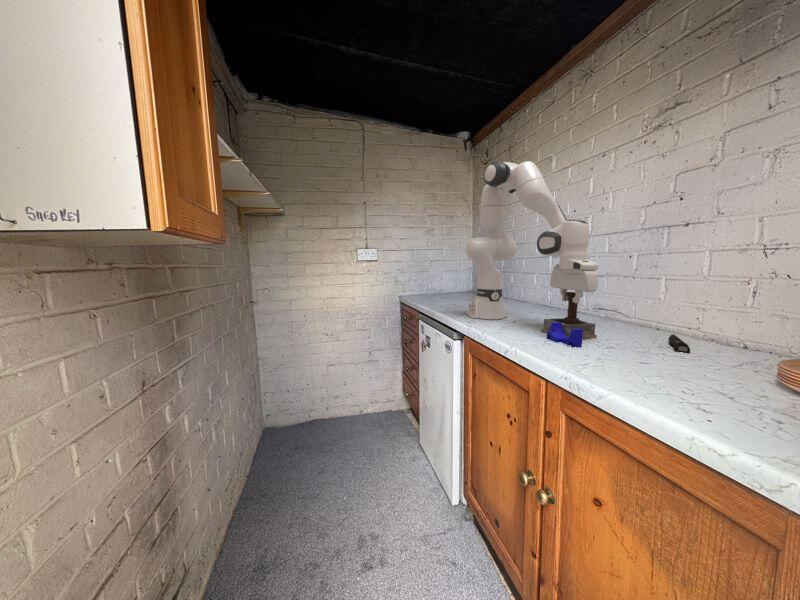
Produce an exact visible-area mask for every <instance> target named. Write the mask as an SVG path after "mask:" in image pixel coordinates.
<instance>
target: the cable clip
mask: <svg viewBox="0 0 800 600" xmlns="http://www.w3.org/2000/svg"><path fill="white" fill-rule="evenodd" d="M582 336H583V329H571V333H570V335H569V337H568V338H567V337H566V336H565V334H564V333H563V330H562V323H560V322H551V331H547V334H546V339H547V340H549V339H550V341H551V340H552V341H551V342H554V343H556V342H557V344H559V343H558V342H562V343H561V344H563V343H564V345H566V344H567V345H566V346H568V345H571V346H572V347H571V348H573V347H576V348H582V346H583V339H582Z"/></svg>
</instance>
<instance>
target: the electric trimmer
mask: <svg viewBox="0 0 800 600" xmlns="http://www.w3.org/2000/svg"><path fill="white" fill-rule="evenodd" d="M668 344H669V346H672V345H673V350H674V352H677V353H680V352H683V353H682V354H690V353H691V348H690V346H689V345H688V344H687V343H686V342H684V341H683V340H682V339H681V338H680V337H678V336H677V335H676V334H674V333H673V334H670V336H669V337H668Z"/></svg>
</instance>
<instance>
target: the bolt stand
mask: <svg viewBox="0 0 800 600" xmlns="http://www.w3.org/2000/svg"><path fill="white" fill-rule="evenodd" d="M564 318H565V317H563V318H561V317H560V318H544V319H543V328H541V333H543V334H546V333H547V331H551V322H560V323H562V330H563V333H564V334H565V336H566V337H567V338H568V337H569V335H570V333H571V329H583V336H582V340H592V339H591V338H596V339H597V336H598V335H597V334H595V332H596V324H595V323H594V322H593V323H592V322H588V321H586V320H581V319H579V323H578V324H567V323H566V322H565V321H564Z"/></svg>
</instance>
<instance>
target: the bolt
mask: <svg viewBox="0 0 800 600" xmlns="http://www.w3.org/2000/svg"><path fill="white" fill-rule="evenodd" d="M575 295H576V294H575V291H566V292H565V296H568V301H567V303H568V305H567V312H566V313H567V316H565V317H563V318H564V321H565V322H566V323H567V324H578V323H579V320H580V318H578V317H577V316H578V304H579V303H573V302H572V301H573V300H572V299H573V298H574V297H575ZM583 295H584V293H583V294H582V296H581V298H582V297H583Z"/></svg>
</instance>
